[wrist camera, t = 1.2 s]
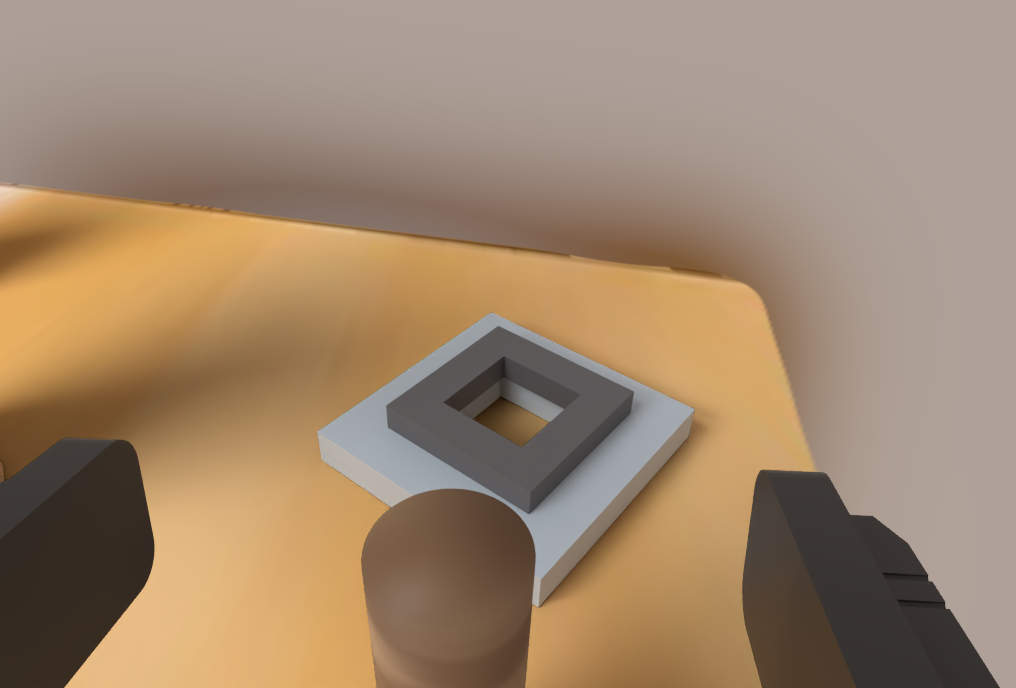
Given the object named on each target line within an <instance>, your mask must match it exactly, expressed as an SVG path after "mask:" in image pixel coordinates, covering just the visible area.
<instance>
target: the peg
mask: <svg viewBox="0 0 1016 688" xmlns="http://www.w3.org/2000/svg"><path fill="white" fill-rule="evenodd" d="M361 562H362V574H363V582H364V590H365V598H366V606H367V614H368V622H369V630H370V638H371V646H372V654H373V662H374V670H375V678H376V686H377V688H525V682H526V670H527V658H528V646H529V634H530V623H531V611H532V599H533V587H534V575H535V563H536V552H535V545H534V541H533V538H532V535H531V533H530V531H529V529H528V527H527V526H526V524H525V522H524V521H523V520H522V519H521V517H520V516H519V515H518V514H517V513H516V512H515V511H514V510H513V509H511V508H510V507H509V506H507V505H506V504H505V503H503V502H501V501H499V500H498V499H496V498H494V497H491V496H489V495H486V494H484V493H480V492H477V491H472V490H466V489H455V488H453V489H437V490H431V491H427V492H423V493H419V494H416V495H413V496H411V497H409V498H407V499H404V500H403V501H401V502H399V503H397V504H396V505H394V506H393V507H392V508H390V509H389V510H388V511H386V512H385V513H384V514H383V515H382V516H381V517H380V518H379V519H378V521H377V522H376V523H375V524H374V526H373V527H372V529H371V530H370V532H369V534H368V536H367V538H366V540H365V543H364V547H363V551H362V559H361Z"/></svg>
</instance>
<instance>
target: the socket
mask: <svg viewBox="0 0 1016 688" xmlns="http://www.w3.org/2000/svg"><path fill="white" fill-rule="evenodd" d="M499 397H503V398H505V399H507V400H509V401H511V402H513V403H514V404H516V405H518V406H520V407H522V408H524V409H526V410H527V411H529V412H531V413H533V414H535V415H537V416H539V417H540V418H542V419H544V420H546V421H548V422H550V423H549V424H547V425H546V426H545V427H544V428H543V429H542V430H541V431H540V432H538V433H537V434H536V435H535V436H534V437H533V438H532V439H531V440H530V441H528V442H527V443H526V444H525V445H524V446H523V447H520V446H519V445H517V444H515V443H513V442H512V441H510V440H508V439H506V438H505V437H503V436H501V435H499V434H498V433H496V432H494V431H492V430H491V429H489V428H487V427H485V426H484V425H482V424H480V423H478V422H476V421H475V420H473V418H475V417H476V416H477V415H478V414H480V413H481V412H482V411H483V410H485V409H486V408H487V407H488V406H490V405H491V404H492V403H493V402H495V401H496V400H497V399H498V398H499ZM694 411H695V409H693V408H691V407H689V406H687V405H685V404H683V403H681V402H678V401H676V400H674V399H672V398H670V397H668V396H666V395H664V394H662V393H660V392H658V391H655V390H653V389H651V388H649V387H647V386H645V385H643V384H641V383H639V382H637V381H634V380H632V379H630V378H628V377H626V376H624V375H622V374H620V373H618V372H616V371H613V370H611V369H609V368H607V367H605V366H603V365H601V364H599V363H597V362H595V361H593V360H590V359H588V358H586V357H584V356H582V355H580V354H578V353H576V352H574V351H572V350H569V349H567V348H565V347H563V346H561V345H559V344H557V343H555V342H553V341H551V340H549V339H546V338H544V337H542V336H540V335H538V334H536V333H534V332H532V331H530V330H528V329H525V328H523V327H521V326H519V325H517V324H515V323H513V322H511V321H509V320H507V319H504V318H502V317H500V316H498V315H496V314H494V313H492V312H491V313H489V314H488V315H487V316H485V317H484V318H482V319H481V320H479V321H478V322H476V323H475V324H473V325H472V326H471V327H469V328H468V329H466V330H465V331H463V332H462V333H460V334H459V335H457V336H456V337H455V338H453V339H452V340H450V341H449V342H447V343H446V344H444V345H443V346H441V347H440V348H439V349H437V350H436V351H434V352H433V353H431V354H430V355H428V356H427V357H425V358H424V359H423V360H421V361H420V362H418V363H417V364H415V365H414V366H412V367H411V368H409V369H408V370H407V371H405V372H404V373H402V374H401V375H399V376H398V377H396V378H395V379H393V380H392V381H391V382H389V383H388V384H386V385H385V386H383V387H382V388H380V389H379V390H377V391H376V392H375V393H373V394H372V395H370V396H369V397H367V398H366V399H364V400H363V401H361V402H360V403H359V404H357V405H356V406H354V407H353V408H351V409H350V410H348V411H347V412H345V413H344V414H343V415H341V416H340V417H338V418H337V419H335V420H334V421H332V422H331V423H329V424H328V425H327V426H325V427H324V428H322V429H321V430H319V431H318V432H317V433H318V440H319V446H320V453H321V459H322V461H324V462H325V463H327V464H328V465H330V466H331V467H333V468H334V469H336V470H337V471H338V472H340V473H341V474H343V475H344V476H346V477H347V478H349V479H350V480H352V481H353V482H355V483H356V484H358V485H359V486H360V487H362V488H363V489H365V490H366V491H368V492H369V493H371V494H372V495H374V496H375V497H377V498H378V499H380V500H381V501H382V502H384V503H385V504H387V505H388V506H390V507H391V508H392V507H393V506H394V505H396V504H397V503H399V502H401V501H403V500H404V499H407V498H409V497H411V496H413V495H416V494H419V493H423V492H427V491H431V490H437V489H453V488H455V489H466V490H472V491H477V492H480V493H484V494H486V495H489V496H491V497H494V498H496V499H498V500H499V501H501V502H503V503H505V504H506V505H507V506H509V507H510V508H511V509H513V510H514V511H515V512H516V513H517V514H518V515H519V516H520V517H521V519H522V520H523V521H524V522H525V524H526V526H527V527H528V529H529V531H530V533H531V535H532V538H533V541H534V545H535V552H536V563H535V575H534V587H533V599H532V604H534V605H535V606H537V607H538V608H539V607H540V605H541V604H542V603H543V602H544V601H545V600H546V599H547V597H548V596H549V595H550V594H551V593H552V592H553V591H554V589H555V588H556V587H557V586H558V585H559V584H560V583H561V581H562V580H563V579H564V578H565V577H566V576H567V575H568V573H569V572H570V571H571V570H572V569H573V568H574V567H575V565H576V564H577V563H578V562H579V561H580V560H581V559H582V557H583V556H584V555H585V554H586V553H587V552H588V551H589V550H590V548H591V547H592V546H593V545H594V544H595V543H596V542H597V540H598V539H599V538H600V537H601V536H602V535H603V534H604V532H605V531H606V530H607V529H608V528H609V527H610V526H611V524H612V523H613V522H614V521H615V520H616V519H617V518H618V516H619V515H620V514H621V513H622V512H623V511H624V510H625V508H626V507H627V506H628V505H629V504H630V503H631V502H632V500H633V499H634V498H635V497H636V496H637V495H638V494H639V493H640V491H641V490H642V489H643V488H644V487H645V486H646V485H647V483H648V482H649V481H650V480H651V479H652V478H653V477H654V475H655V474H656V473H657V472H658V471H659V470H660V469H661V467H662V466H663V465H664V464H665V463H666V462H667V461H668V459H669V458H670V457H671V456H672V455H673V454H674V453H675V451H676V450H677V449H678V448H679V447H680V446H681V445H682V444H683V442H684V441H685V440H686V439H687V438H688V437H689V433H690V428H691V424H692V420H693V415H694Z"/></svg>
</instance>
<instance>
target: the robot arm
mask: <svg viewBox="0 0 1016 688" xmlns="http://www.w3.org/2000/svg"><path fill="white" fill-rule="evenodd" d="M153 560H154V538H153V532H152V527H151V522H150V517H149V512H148V507H147V502H146V497H145V491H144V486H143V481H142V476H141V471H140V466H139V461H138V457H137V454H136V451H135V449H134V448H133V446H132V445H131V444H130V443H129V442H127V441H125V440H115V439H93V438H64V439H62V440H60V441H58V442H57V443H56V444H54V445H53V446H52V447H50V448H49V449H48V450H47V451H45V452H44V453H43V454H41V455H40V456H39V457H37V458H36V459H35V460H34V461H32V462H31V463H30V464H28V465H27V466H26V467H25V468H23V469H22V470H21V471H19V472H18V473H17V474H15V475H14V476H13V477H11V478H9V479H7V480H5V481H4V471H3V466H2V464H1V461H0V688H64V687H65V686H66V685H67V683H68V682H69V681H70V680H71V678H72V677H73V676H74V675H75V673H76V672H77V671H78V670H79V668H80V667H81V666H82V665H83V663H84V662H85V661H86V660H87V658H88V657H89V656H90V655H91V653H92V652H93V651H94V650H95V648H96V647H97V646H98V645H99V643H100V642H101V641H102V640H103V638H104V637H105V636H106V635H107V633H108V632H109V631H110V629H111V628H112V627H113V626H114V624H115V623H116V622H117V621H118V619H119V618H120V617H121V616H122V614H123V613H124V612H125V611H126V609H127V608H128V607H129V606H130V604H131V603H132V602H133V601H134V599H135V598H136V597H137V596H138V594H139V593H140V592H141V590H142V589H143V588H144V586H145V584H146V582H147V580H148V578H149V575H150V572H151V569H152V565H153ZM742 595H743V612H744V620H745V625H746V630H747V633H748V637H749V641H750V644H751V648H752V652H753V655H754V659H755V663H756V666H757V670H758V674H759V677H760V681H761V685H762V688H1000V687H999V686H998V684H997V683H996V681H995V679H994V678H993V676H992V675H991V673H990V672H989V670H988V669H987V667H986V665H985V664H984V662H983V661H982V659H981V658H980V656H979V654H978V653H977V651H976V650H975V648H974V646H973V645H972V644H971V642H970V640H969V639H968V637H967V636H966V634H965V632H964V631H963V629H962V628H961V626H960V625H959V623H958V622H957V620H956V618H955V617H954V615H953V613H952V612H951V610H950V609H946V607H945V601H944V599H943V598H942V596H941V595H940V593H939V591H938V590H937V589H936V587H935V585H934V584H933V582H929V581H928V574H927V573H926V571H925V569H924V568H923V566H922V565H921V563H920V562H919V560H918V559H917V557H916V555H915V554H914V552H913V551H912V549H911V548H910V546H909V544H908V543H907V542H905V541H904V540H903V539H901V538H900V537H899V536H898V535H896V534H895V533H894V532H892V531H891V530H890V529H889V528H887V527H886V526H885V525H883V524H882V523H881V522H880V521H878V520H877V519H876V518H874V517H873V516H859V515H850V514H849V512H848V511H847V509H846V507H845V505H844V504H843V502H842V500H841V498H840V496H839V495H838V493H837V491H836V489H835V487H834V485H833V484H832V482H831V480H830V478H829V477H828V476H827V474H825V473H822V472H801V471H779V470H761V471H760V472H759V474H758V476H757V479H756V483H755V489H754V496H753V504H752V512H751V519H750V527H749V534H748V542H747V550H746V557H745V565H744V573H743V588H742Z"/></svg>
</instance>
